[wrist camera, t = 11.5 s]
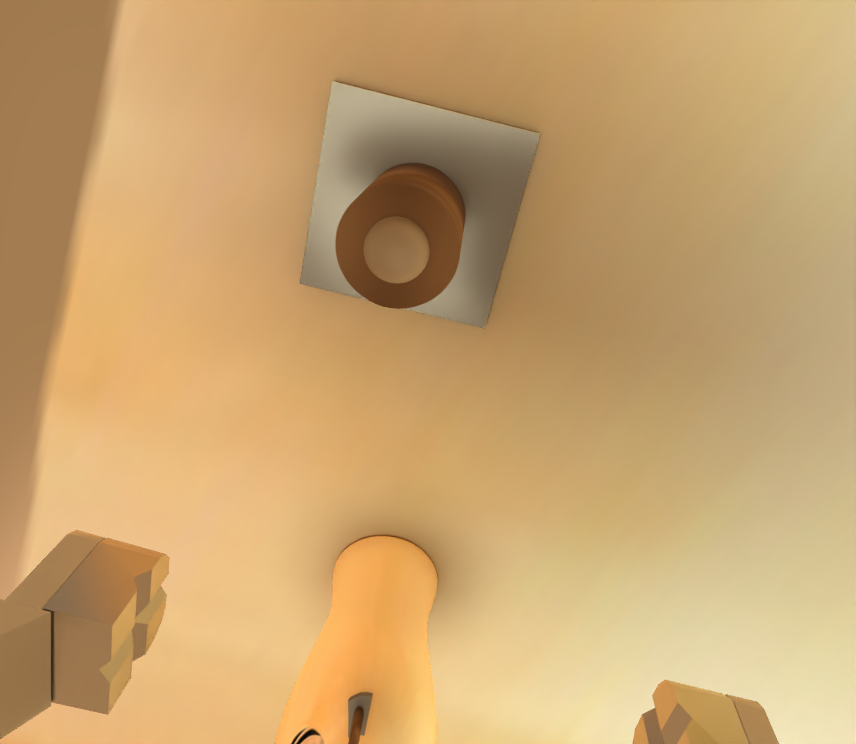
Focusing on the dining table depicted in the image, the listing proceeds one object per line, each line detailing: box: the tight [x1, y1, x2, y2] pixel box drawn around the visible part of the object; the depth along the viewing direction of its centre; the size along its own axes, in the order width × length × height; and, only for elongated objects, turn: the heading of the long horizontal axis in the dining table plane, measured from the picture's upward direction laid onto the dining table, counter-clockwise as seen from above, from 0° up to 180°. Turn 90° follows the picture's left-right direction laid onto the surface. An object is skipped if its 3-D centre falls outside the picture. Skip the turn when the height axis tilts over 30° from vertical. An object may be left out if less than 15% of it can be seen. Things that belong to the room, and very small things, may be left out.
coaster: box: [300, 81, 540, 328], centre depth 30 cm, size 9×9×1 cm
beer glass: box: [274, 536, 438, 744], centre depth 32 cm, size 7×7×15 cm
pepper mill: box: [335, 163, 465, 309], centre depth 27 cm, size 5×5×7 cm
